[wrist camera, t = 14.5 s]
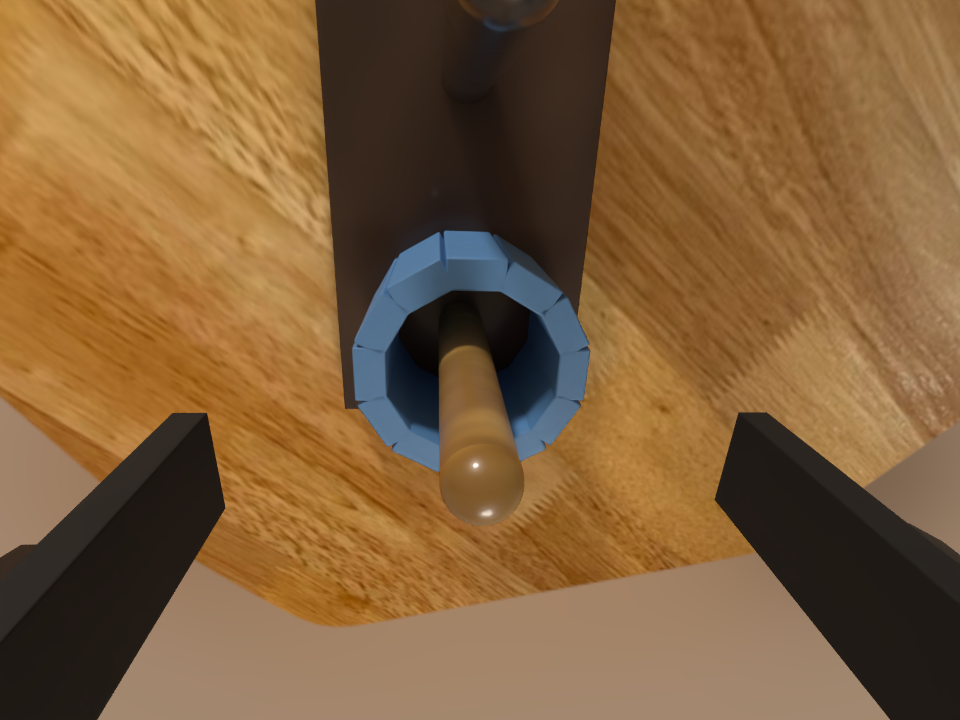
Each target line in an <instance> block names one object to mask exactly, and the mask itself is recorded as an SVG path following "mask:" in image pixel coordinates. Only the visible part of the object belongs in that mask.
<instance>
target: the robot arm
mask: <svg viewBox="0 0 960 720" xmlns="http://www.w3.org/2000/svg"><path fill="white" fill-rule="evenodd" d="M715 501H716V502H717V503H718V504H719V506H720V507H721V508H722V509H723V511H724V512H725V513H726V514H727V516H728V517H729V518H730V519H731V521H732V522H733V523H734V524H735V526H736V527H737V528H738V529H739V531H740V532H741V533H742V534H743V536H744V537H745V538H746V539H747V541H748V542H749V543H750V544H751V546H752V547H753V548H754V549H755V551H756V552H757V553H758V555H759V556H760V557H761V558H762V559H763V561H764V562H765V563H766V564H767V566H768V567H769V568H770V570H771V571H772V572H773V573H774V575H775V576H776V577H777V578H778V580H779V581H780V582H781V583H782V585H783V586H784V587H785V588H786V590H787V591H788V592H789V593H790V595H791V596H792V597H793V598H794V600H795V601H796V602H797V603H798V604H799V606H800V607H801V608H802V610H803V611H804V612H805V613H806V615H807V616H808V617H809V618H810V620H811V621H812V622H813V623H814V625H815V626H816V627H817V628H818V630H819V631H820V632H821V633H822V635H823V636H824V637H825V638H826V640H827V641H828V642H829V643H830V645H831V646H832V647H833V648H834V650H835V651H836V652H837V654H838V655H839V656H840V657H841V659H842V660H843V661H844V662H845V664H846V665H847V666H848V667H849V669H850V670H851V671H852V672H853V674H854V675H855V676H856V677H857V678H858V680H859V681H860V682H861V684H862V685H863V686H864V687H865V689H866V690H867V691H868V692H869V694H870V695H871V696H872V697H873V699H874V700H875V701H876V702H877V704H878V705H879V706H880V707H881V708H882V710H883V711H884V712H885V714H886V715H887V716H888V717H889V719H890V720H960V555H959V554H958V553H957V552H955V551H954V550H953V549H952V548H950V547H949V546H948V545H946V544H945V543H944V542H942V541H941V540H939V539H937V538H935V537H933V536H931V535H930V534H928V533H926V532H924V531H922V530H920V529H919V528H917V527H915V526H913V525H911V524H908V523H906V522H905V521H904V520H903V519H901V518H900V517H899V516H897V515H896V514H895V513H894V512H892V511H891V510H890V509H888V508H887V507H886V506H885V505H883V504H882V503H881V502H880V501H878V500H877V499H876V498H875V497H873V496H872V495H871V494H870V493H868V492H867V491H866V490H864V489H863V488H862V487H861V486H859V485H858V484H857V483H856V482H854V481H853V480H852V479H851V478H849V477H848V476H847V475H845V474H844V473H843V472H842V471H840V470H839V469H838V468H837V467H835V466H834V465H833V464H831V463H830V462H829V461H828V460H826V459H825V458H824V457H823V456H821V455H820V454H819V453H818V452H816V451H815V450H814V449H812V448H811V447H810V446H809V445H807V444H806V443H805V442H804V441H802V440H801V439H800V438H798V437H797V436H796V435H795V434H793V433H792V432H791V431H790V430H788V429H787V428H786V427H785V426H783V425H782V424H781V423H779V422H778V421H777V420H776V419H774V418H773V417H772V416H771V415H769V414H768V413H738V417H737V420H736V424H735V428H734V431H733V435H732V439H731V442H730V446H729V449H728V453H727V457H726V460H725V464H724V468H723V471H722V475H721V479H720V482H719V486H718V489H717V493H716V497H715ZM224 509H225V503H224V498H223V493H222V488H221V482H220V477H219V472H218V467H217V462H216V457H215V452H214V447H213V442H212V436H211V431H210V426H209V421H208V416H207V413H172V414H171V415H170V416H169V417H168V418H167V419H166V420H165V421H164V422H163V423H162V424H161V425H160V426H159V427H158V428H157V429H156V430H155V431H154V432H153V433H152V434H151V435H150V436H149V437H147V438H146V439H145V440H144V441H143V442H142V443H141V444H140V445H139V446H138V447H137V448H136V449H135V450H134V451H133V452H132V453H131V454H130V455H129V456H128V457H127V458H126V459H125V460H124V461H123V462H122V463H121V464H120V465H119V466H118V467H117V468H115V469H114V470H113V471H112V472H111V473H110V474H109V475H108V476H107V477H106V478H105V479H104V480H103V481H102V482H101V483H100V484H99V485H98V486H97V487H96V488H95V489H94V490H93V491H92V492H91V493H90V494H89V495H88V496H87V497H86V498H85V499H83V500H82V501H81V502H80V504H78V505H77V506H76V507H75V508H74V509H73V510H72V511H71V512H70V513H69V514H68V515H67V516H66V517H65V518H64V519H63V520H62V521H61V522H60V523H59V524H58V525H57V526H56V527H55V528H54V529H53V530H51V531H50V533H48V534H47V535H46V537H44V538H43V539H42V540H41V541H40V542H39V543H38V544H37V545H20V546H19V547H17V548H15V549H14V550H12V551H10V552H9V553H7V554H6V555H4V556H2V557H1V558H0V720H97V719H98V717H99V716H100V714H101V713H102V711H103V709H104V708H105V706H106V704H107V702H108V701H109V699H110V698H111V696H112V694H113V693H114V691H115V689H116V688H117V686H118V684H119V683H120V681H121V679H122V678H123V676H124V674H125V673H126V671H127V670H128V668H129V666H130V665H131V663H132V661H133V659H134V658H135V656H136V655H137V653H138V651H139V650H140V648H141V647H142V645H143V643H144V642H145V640H146V638H147V637H148V635H149V633H150V632H151V630H152V628H153V626H154V625H155V623H156V621H157V620H158V618H159V617H160V615H161V613H162V612H163V610H164V608H165V607H166V605H167V604H168V602H169V600H170V599H171V597H172V595H173V594H174V592H175V590H176V589H177V587H178V585H179V584H180V582H181V580H182V579H183V577H184V575H185V574H186V572H187V571H188V569H189V567H190V565H191V564H192V562H193V561H194V559H195V557H196V556H197V554H198V552H199V551H200V549H201V547H202V546H203V544H204V543H205V541H206V539H207V538H208V536H209V534H210V533H211V531H212V529H213V528H214V526H215V524H216V523H217V521H218V519H219V518H220V516H221V514H222V513H223V511H224Z"/></svg>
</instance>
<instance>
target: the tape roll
mask: <svg viewBox="0 0 960 720" xmlns="http://www.w3.org/2000/svg"><path fill="white" fill-rule="evenodd" d="M450 291H500V292H502V293H504V294H505V295H507V296H509V297H510V298H512V299H514V300H515V301H517V302H518V303H520V304H522V305H523V306H525V307H527V308H528V309H530V316H529V328H528V340H527V341H526V343H525V344H524V345H523V347H522V348H521V350H520V351H519V353H518V354H517V356H516V357H515V358H514V360H513V361H512V363H511V364H510V366H509V367H507V368H505V369H503V370H501V371H499V372H498V373H496V374H497V377H498V381H499V385H500V388H501V392H502V396H503V399H504V403H505V407H506V411H507V414H508V418H509V422H510V425H511V429H512V433H513V436H514V440H515V444H516V447H517V451H518V455H519V458H520V461H522V460H524V459H526V458H528V457H530V456H532V455H534V454H537V453H539V452H541V451H543V450H545V449H546V446H545V443H547V444H549V445H551V444H552V443H553V442H554V440H555V439H556V438H557V437H558V435H559V434H560V433H561V431H562V430H563V429H564V427H565V426H566V425H567V423H568V422H569V421H570V420H571V418H572V417H573V416H574V414H575V413H576V412H577V410H578V409H579V408H580V406H581V404H580V402H579V401H578V400H583V399H584V394H585V386H586V379H587V371H588V364H589V357H590V350H589V348H588V347H587V346H588V345H589V341H588V339H587V337H586V335H585V333H584V330H583V328H582V326H581V324H580V322H579V320H578V318H577V315H576V313H575V311H574V309H573V307H572V305H571V302H570V300H569V298H568V297H567V296H566V295H565V293H564V292H563V291H562V290H561V289H560V288H559V287H558V286H557V285H556V283H555V282H554V281H553V280H552V279H551V278H550V277H549V276H548V275H547V274H546V273H545V272H544V270H543V269H542V268H541V267H540V266H539V265H538V264H537V263H536V262H535V261H534V260H533V259H532V257H530V256H529V255H527V254H526V253H524V252H523V251H521V250H520V249H518V248H517V247H515V246H513V245H512V244H510V243H509V242H507V241H506V240H504V239H503V238H501V237H499V236H498V235H496V234H494V235H493V237H492V235H491V234H490V233H489V232H471V231H444V239H443V237H442V235H441V234H440V232H438V233H436V234H434V235H432V236H431V237H429V238H427V239H425V240H423V241H422V242H420V243H418V244H416V245H414V246H413V247H411V248H409V249H407V250H405V251H404V252H402V253H400V254H399V257H398V258H396V259H395V260H394V261H393V263H392V265H391V267H390V268H389V270H388V272H387V274H386V276H385V277H384V279H383V281H382V283H381V284H380V286H379V288H378V290H377V291H376V293H375V295H374V297H373V300H372V302H371V304H370V306H369V308H368V311H367V313H366V315H365V317H364V320H363V322H362V324H361V326H360V328H359V331H358V333H357V335H356V337H355V340H354V342H355V343H354V345H353V348H352V357H353V373H354V388H355V400H356V401H359V403H358V407H359V408H360V410H361V411H362V413H363V414H364V415H365V417H366V418H367V420H368V421H369V422H370V424H371V425H372V426H373V428H374V429H375V431H376V432H377V433H378V435H379V436H380V437H381V439H382V440H383V442H384V443H385V444H386V446H387V447H388V446H390V445H392V444H393V446H392V451H394V452H396V453H398V454H400V455H402V456H404V457H407V458H409V459H411V460H413V461H415V462H417V463H419V464H421V465H424V466H426V467H428V468H430V469H432V470H434V471H436V472H438V471H439V378H438V377H436V376H435V375H433V374H431V373H429V372H427V371H425V370H423V369H421V368H419V367H418V366H416V364H415V363H414V361H413V359H412V358H411V356H410V355H409V353H408V352H407V350H406V348H405V347H404V345H403V344H402V342H401V341H400V339H399V329H400V328H401V326H402V324H403V322H404V321H405V319H406V317H407V316H408V314H409V313H411V312H413V311H415V310H417V309H419V308H421V307H422V306H424V305H426V304H428V303H430V302H432V301H434V300H435V299H437V298H439V297H441V296H443V295H445V294H447V293H448V292H450ZM544 442H545V443H544Z"/></svg>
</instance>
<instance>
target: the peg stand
mask: <svg viewBox="0 0 960 720" xmlns="http://www.w3.org/2000/svg"><path fill="white" fill-rule="evenodd" d="M615 2H616V0H315V3H316V17H317V31H318V45H319V58H320V72H321V86H322V100H323V113H324V127H325V141H326V155H327V168H328V182H329V196H330V210H331V223H332V237H333V251H334V265H335V278H336V292H337V306H338V320H339V333H340V347H341V361H342V375H343V388H344V402H345V409H360V408H359V407H358V403H359V401H356V400H355V388H354V373H353V357H352V348H353V345H354V343H355V342H354V340H355V337H356V335H357V333H358V331H359V328H360V326H361V324H362V322H363V320H364V317H365V315H366V313H367V311H368V308H369V306H370V304H371V302H372V300H373V297H374V295H375V293H376V291H377V290H378V288H379V286H380V284H381V283H382V281H383V279H384V277H385V276H386V274H387V272H388V270H389V268H390V267H391V265H392V263H393V261H394V260H395V259H396V258H398V257H399V254H400V253H402V252H404V251H405V250H407V249H409V248H411V247H413V246H414V245H416V244H418V243H420V242H422V241H423V240H425V239H427V238H429V237H431V236H432V235H434V234H436V233H438V232H440V234H441V235H442V237H443V239H444V231H471V232H489V233H490V234H491V235H492V237H493V235H494V234H496V235H498V236H499V237H501V238H503V239H504V240H506V241H507V242H509V243H510V244H512V245H513V246H515V247H517V248H518V249H520V250H521V251H523V252H524V253H526V254H527V255H529V256H530V257H532V259H533V260H534V261H535V262H536V263H537V264H538V265H539V266H540V267H541V268H542V269H543V270H544V272H545V273H546V274H547V275H548V276H549V277H550V278H551V279H552V280H553V281H554V282H555V283H556V285H557V286H558V287H559V288H560V289H561V290H562V291H563V292H564V293H565V295H566V296H567V297H568V298H569V300H570V302H571V305H572V307H573V309H574V311H575V313H576V315H577V316H578V307H579V299H580V291H581V283H582V274H583V266H584V258H585V250H586V241H587V233H588V225H589V217H590V208H591V200H592V192H593V184H594V175H595V167H596V159H597V151H598V142H599V134H600V126H601V118H602V109H603V101H604V93H605V85H606V76H607V68H608V60H609V52H610V44H611V35H612V27H613V19H614V11H615ZM529 316H530V309H528V308H527V307H525V306H523V305H522V304H520V303H518V302H517V301H515V300H514V299H512V298H510V297H509V296H507V295H505V294H504V293H502V292H500V291H450V292H448V293H447V294H445V295H443V296H441V297H439V298H437V299H435V300H434V301H432V302H430V303H428V304H426V305H424V306H422V307H421V308H419V309H417V310H415V311H413V312H411V313H409V314H408V316H407V317H406V319H405V321H404V322H403V324H402V326H401V328H400V329H399V339H400V341H401V342H402V344H403V345H404V347H405V348H406V350H407V352H408V353H409V355H410V356H411V358H412V359H413V361H414V363H415V364H416V366H418V367H419V368H421V369H423V370H425V371H427V372H429V373H431V374H433V375H435V376H436V377H438V378H439V481H440V491H441V495H442V498H443V501H444V503H445V504H446V506H447V508H448V509H449V510H450V512H451V513H452V514H453V515H454V516H456V517H457V518H458V519H460V520H461V521H463V522H465V523H468V524H471V525H476V526H488V525H493V524H496V523H499V522H501V521H503V520H504V519H506V518H507V517H508V516H510V515H511V514H512V513H513V511H514V510H515V509H516V508H517V506H518V504H519V503H520V501H521V498H522V495H523V491H524V474H523V470H522V466H521V462H520V458H519V455H518V451H517V447H516V444H515V440H514V436H513V433H512V429H511V425H510V422H509V418H508V414H507V411H506V407H505V403H504V399H503V396H502V392H501V388H500V385H499V381H498V377H497V374H496V373H498V372H499V371H501V370H503V369H505V368H507V367H509V366H510V364H511V363H512V361H513V360H514V358H515V357H516V356H517V354H518V353H519V351H520V350H521V348H522V347H523V345H524V344H525V343H526V341H527V340H528V328H529Z"/></svg>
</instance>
